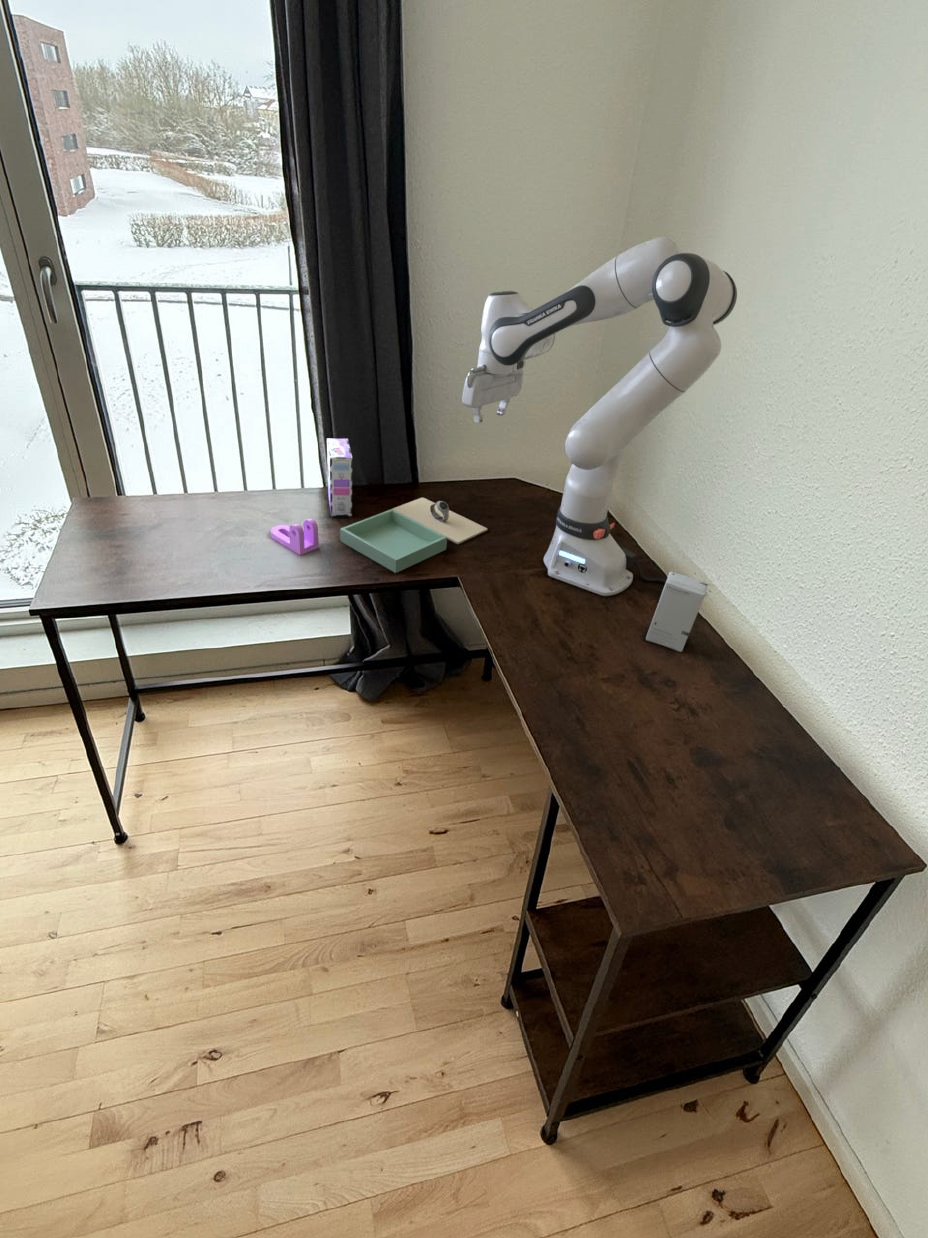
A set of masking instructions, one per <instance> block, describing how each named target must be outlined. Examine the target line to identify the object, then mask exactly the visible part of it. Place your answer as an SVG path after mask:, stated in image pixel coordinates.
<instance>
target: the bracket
mask: <svg viewBox="0 0 928 1238" xmlns="http://www.w3.org/2000/svg"><path fill="white" fill-rule="evenodd" d="M302 524H303V526H301V525H300V524H299V523H294V524H292V525H287V524H279V525H276V526H273V527H272V528H270V537H271V538H272V539H273V540H274V541H276V542H278V543H279V544H281V545H282V546H284V547H286V548H288V549H289V550H290V551H292V552H294V553H296V554H297V555H299V556H302V555H304V554H307V553H309V552H312V551H314V550H317V549H319V548H320V543H319V525H318V523H317V522H316V520H315V519H314V518H308V519H305V520H304V521H303V523H302Z"/></svg>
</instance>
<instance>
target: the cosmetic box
mask: <svg viewBox="0 0 928 1238" xmlns="http://www.w3.org/2000/svg"><path fill="white" fill-rule="evenodd" d="M667 575H668V576H667V578H666V583H665V584H664V586H663V589H662V591H661V594H660V597H659V600H658V603H657V606H656V609H655V612H654V614H653V617H652V620H651V622H650V625H649V628H648V630H647V633H646V637H645V641H647V642H649V643H653V644H657V645H659V646H663V647H666V648H669V649H672V650H675V651H676V652H680V653H682V652H683V651H684V647H685V645H686V643H687V640H688V638H689V635H690V634H691V631H692V629H693V626H694V623H695V621H696V619H697V616H698V614H699V611H700V609H701V606H702V604H703V601H704V600H705V596H706V592H707V589H708V586H709V583H708V582H705V581H701V580H698V579H695V578H694V577H691V576H688V575H683V574H680V573H677V572H674V571H669V573H668V574H667Z"/></svg>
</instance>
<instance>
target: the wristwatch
mask: <svg viewBox="0 0 928 1238" xmlns="http://www.w3.org/2000/svg"><path fill="white" fill-rule="evenodd" d="M436 504H437V508H438V510H439V511H441V512H442V514H443V516H444V519H443V517H441V516H440V515H439V514H438V513H437V512H436V511H435V505H436ZM449 510H450V508H449V504H447V502H445V501H444V500H438V501H436V502H434V504H432V505H431V506H430V511H431V513H432V516H433V517H434V518H435V519H437V520H439V521H440V522H444V521H446V520H448V517H449Z"/></svg>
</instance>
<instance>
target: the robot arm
mask: <svg viewBox="0 0 928 1238" xmlns="http://www.w3.org/2000/svg"><path fill="white" fill-rule="evenodd" d="M737 299H738V289H737V286H736V283H735V281H734V279H733V278H732V276H731V275H730V274H729V273H728V272H727V271H725V270H723V269H722V268H720V266H719V265H718V264H716V262H714V261H712V260H710V259H707V258H704V257H702V256H700V255H698V254H696V253H691V252H682V249H681V248H680V245H678V243H677V242H675V240H674V239H672V238H670V237H668V236H658V237H655V238H652V239H649V240H646V241H644V242H641V243H639V244H637V245H635V246H632V247H631V248H628V249H626V250H624V251H623V252H621V253H619V254H618V255H615V256H614V257H612V258H611V259H610V260H608V261H607V262H605V263H604V264H602V265H601V266H599V267H598V268H596V270H594V271H593V272H591V273H589V274H588V275H587V276H586V277H584V278H583V279H582V280H580V281H579V282H577V283H576V284H575V285H573V286H572V287H571V288H569V289H568V290H567V291H565V292H564V293H562V294H560V295H558V296H557V297H555V298H553V299H552V300H549V301H548V302H546V303H544V304H542V305H539V306H538V307H536V308H533V306H530V304H528V303H527V302H526V301H525V300H524V299H523V297H522V296H521V294H520V293H519V292H517V291H514V290H503V291H494V292H491V293H490V294H489V295H488V296H487V297H486V299H485V303H484V307H483V311H482V317H481V326H480V331H481V340H480V344H479V347H478V357H477V366H476V367H475V366H474V367H472V368H471V370H470V371H469V372H468V373H467V376H466V378H465V381H464V385H463V390H462V397H461V402H462V405H463V406H464V407H467V408H470V409H471V411H472V413H473V422H474V423H476V424H480V423H482V422H483V419H484V415H483V414H482V413H481V411H482V409H483V406H486V405H489V404H493V403H496V402H497V403H498V402H500V403H499V405H498V407H497V408H496V415H497V416H500V417H502V416H505V415H506V409H507V407H508V406H509V403H510V400H511V398H515V397H518V396H519V395H520V393H521V391H522V387H523V381H524V368H526V360H529V359H533V358H536V357H539V356H541V355H542V356H543V354H546V353H548V352H549V351H550V350H551V349H552V347H553V346H554V343H555V339H556V334H558V333H559V332H561V331H563V330H566V329H567V328H570V327H574V326H577V325H581V324H586V323H592V322H598V321H603V320H605V321H606V320H608V319H609V320H610V319H613V318H618V317H620V316H622V315H625V314H629V313H630V312H633V311H636V310H637V309H639V308H640V307H643V306H645V305H647V304H648V303H651V302H652V301H654V304H655V305H656V307H657V309H658V312H659V315H660V320H661V321H662V324H664V325H665V326H667V327H668V330H667V332H666V334H665V336H663V337H662V339H661V340H660V341H658V343H656V345H654V347H652V348H651V350H649V351H648V353H646V354H645V355H644V356H643V357H642V358H641V359H640V360H639V361H638V362H637V363H636V364H635V365H634V366H633V367H632V368H631V369H630V370H629V371H628V372H627V373H626V374H625V375H624V376H623V377H622V378H621V379H620V380H619V381H618V382H617V383H616V384H615V385H614V386H612V387H611V388H610V389H609V390H608V392H606V393H605V394H604V395H602V397H601V398H599V400H598V401H596V403H594V404H593V405H592V406H591V407H590V408H589V409H588V410H587V411H586V412H585V413H584V414H583V415H582V416H581V417H580V418H579V419H578V420H577V421H576V422H575V423H573V425H572V426H571V428H570V430H569V432H568V434H567V437H566V439H565V443H564V451H565V454H566V457H567V459H568V461H569V462H570V463H571V466H570V469H569V471H568V473H567V475H566V478H565V482H564V487H563V493H562V498H561V503H560V506H559V507H558V509H557V513H556V518H555V523H554V524H555V529H554V533H553V535H552V538H551V541H550V544H549V546H548V549H547V551H546V552H545V554H544V556H543V559H542V560H543V563H544V565H545V567H546V568H547V576H549V577H550V578H553V579H556V580H559V581H561V582H564V583H567V584H569V585H572V586H575V587H577V588H580V589H582V590H586V591H588V592H592V593H593V594H597V595H599V596H602V597H609V596H614V595H618V594H619V593H622V592H623V591H625V590H626V589H627V588H629V587H630V586H631V584H632V583H633V581H634V580H633V578H634V574H633V573H632V571H629V570H628V569H629V568H632V567H634V566H635V567H636V568H637V572H638V574H639V577H640V578H641V579H642V580H643V581H646V582H649V583H652V582H658V583H662V584H664V585H665V583H666V581H667V579H664V578H659V577H647V576H645V575H644V573H643V569H642V567H641V565H640V564H639V562H638V561H637V556H638V555H637V554H636V553H635V552H633V551H631V550H629V549H627V548H625V547H621V546H620V545H619V544H618V542H617V541H616V540H615V539H614V537H613V536H612V535H611V533H610V532H611V530H612V529H613V528H614V527H615V524H616V522H612V523H611V524H610V523H609V519H608V511H609V507H610V504H611V503H610V502H611V498H612V494H613V492H614V491H613V490H614V488H615V484H616V481H617V479H618V476H619V473H620V470H621V467H622V464H623V462H624V459H625V454H626V453H627V448H628V445H630V444H631V442H632V441H633V440H635V438H637V437H638V436H639V435H640V434H641V433H642V432H643V431H644V430H645V429H646V428H648V426H650V425H651V424H652V423H653V422H654V421H656V419H657V418H658V417H660V415H662V414H663V413H664V412H665V411H666V410H667V409H668V408H670V407H671V406H672V405H673V404H674V403H675V402H676V401H677V400H679V399H680V398H681V397H682V396H683V395H684V394H685V393H686V392H687V391H688V390H690V389H691V388H692V387H693V386H694V385H695V384H697V382H698V381H699V380H700V379H701V378H702V377H703V376H704V374H706V372H708V370H709V369H710V367H712V365H713V364H714V363H715V361H716V360H717V359H718V357H719V355H720V354H721V351H722V340H721V337H720V334H719V333H718V331H717V328H715V326H716V325H718V324H720V323H722V322H723V321H725V320H726V319H727V318H728V317H729V316H730V315H731V313H732V311H734V308H735V306H736V303H737Z"/></svg>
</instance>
